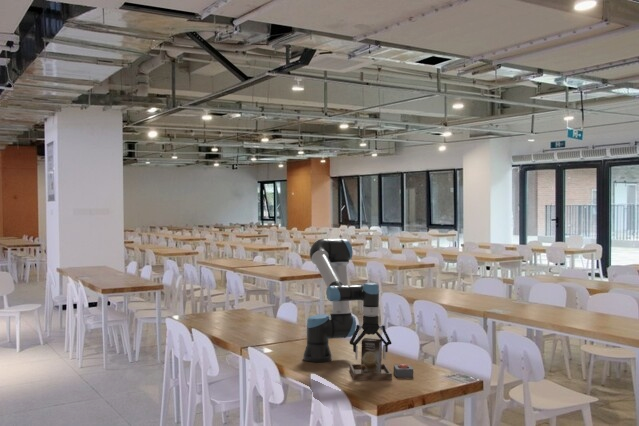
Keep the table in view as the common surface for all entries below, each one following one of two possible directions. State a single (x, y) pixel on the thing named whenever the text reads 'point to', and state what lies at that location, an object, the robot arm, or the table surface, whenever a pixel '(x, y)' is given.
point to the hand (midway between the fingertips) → (370, 359)
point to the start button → (403, 366)
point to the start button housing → (403, 372)
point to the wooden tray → (357, 374)
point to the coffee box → (371, 355)
